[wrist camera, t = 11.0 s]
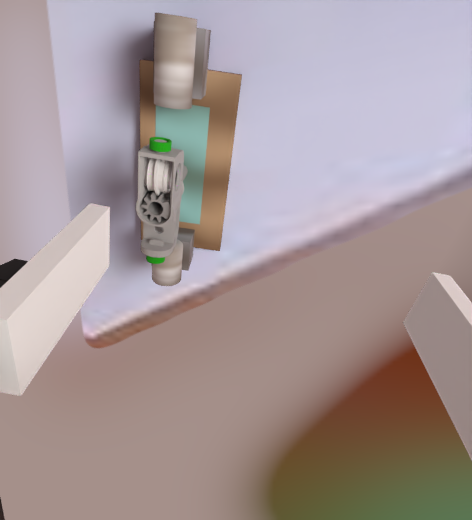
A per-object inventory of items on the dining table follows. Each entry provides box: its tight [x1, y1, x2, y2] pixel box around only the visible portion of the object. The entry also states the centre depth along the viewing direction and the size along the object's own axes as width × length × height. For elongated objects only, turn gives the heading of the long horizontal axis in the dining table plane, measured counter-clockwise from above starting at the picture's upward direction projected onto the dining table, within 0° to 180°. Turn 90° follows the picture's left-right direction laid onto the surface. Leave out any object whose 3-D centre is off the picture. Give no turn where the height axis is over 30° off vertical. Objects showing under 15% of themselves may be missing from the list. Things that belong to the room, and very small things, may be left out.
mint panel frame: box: [140, 13, 242, 286], centre depth 34 cm, size 23×9×7 cm, turn 172°
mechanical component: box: [136, 137, 188, 264], centre depth 32 cm, size 3×10×10 cm, turn 171°
